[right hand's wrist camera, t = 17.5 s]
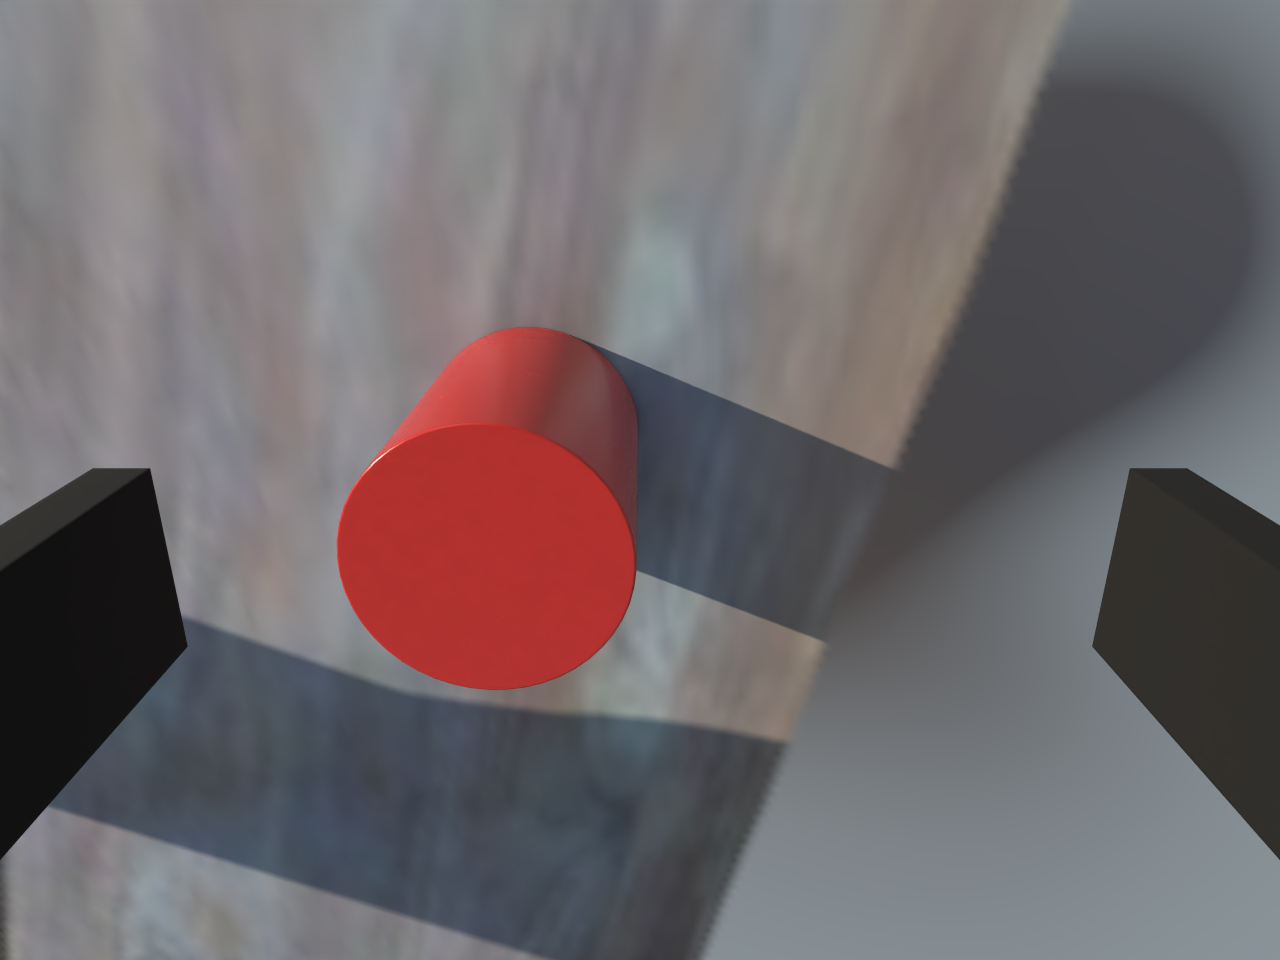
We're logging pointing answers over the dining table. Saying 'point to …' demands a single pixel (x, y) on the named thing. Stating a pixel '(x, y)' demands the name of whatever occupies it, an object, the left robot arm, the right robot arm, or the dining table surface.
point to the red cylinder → (500, 516)
